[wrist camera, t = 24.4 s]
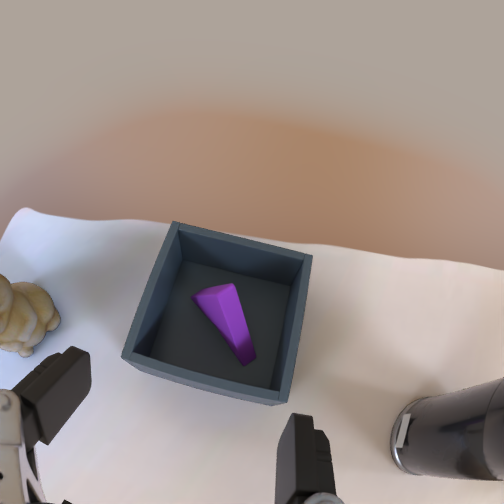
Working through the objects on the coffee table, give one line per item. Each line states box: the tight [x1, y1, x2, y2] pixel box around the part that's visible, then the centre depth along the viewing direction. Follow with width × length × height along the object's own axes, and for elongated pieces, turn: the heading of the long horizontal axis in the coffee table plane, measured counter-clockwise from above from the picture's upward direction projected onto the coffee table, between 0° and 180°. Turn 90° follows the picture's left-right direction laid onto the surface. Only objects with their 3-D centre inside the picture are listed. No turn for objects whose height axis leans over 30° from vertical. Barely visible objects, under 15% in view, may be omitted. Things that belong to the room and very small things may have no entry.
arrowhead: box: [191, 283, 256, 366], centre depth 29 cm, size 10×2×10 cm
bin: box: [121, 221, 313, 406], centre depth 29 cm, size 14×14×7 cm
